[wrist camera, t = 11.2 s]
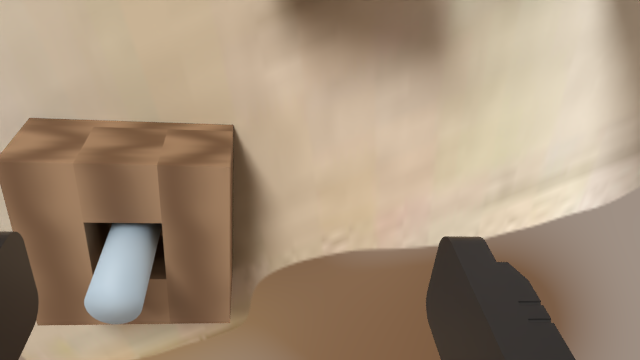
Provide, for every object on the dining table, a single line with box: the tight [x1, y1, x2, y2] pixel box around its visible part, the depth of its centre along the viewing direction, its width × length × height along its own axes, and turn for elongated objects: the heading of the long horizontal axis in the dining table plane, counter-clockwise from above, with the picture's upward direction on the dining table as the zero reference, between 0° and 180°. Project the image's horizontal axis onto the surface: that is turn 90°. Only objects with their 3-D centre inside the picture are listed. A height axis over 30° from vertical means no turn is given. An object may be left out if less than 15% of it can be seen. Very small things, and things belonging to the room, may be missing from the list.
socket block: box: [0, 118, 233, 325], centre depth 40 cm, size 14×14×6 cm
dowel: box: [84, 223, 162, 324], centre depth 37 cm, size 3×3×10 cm
